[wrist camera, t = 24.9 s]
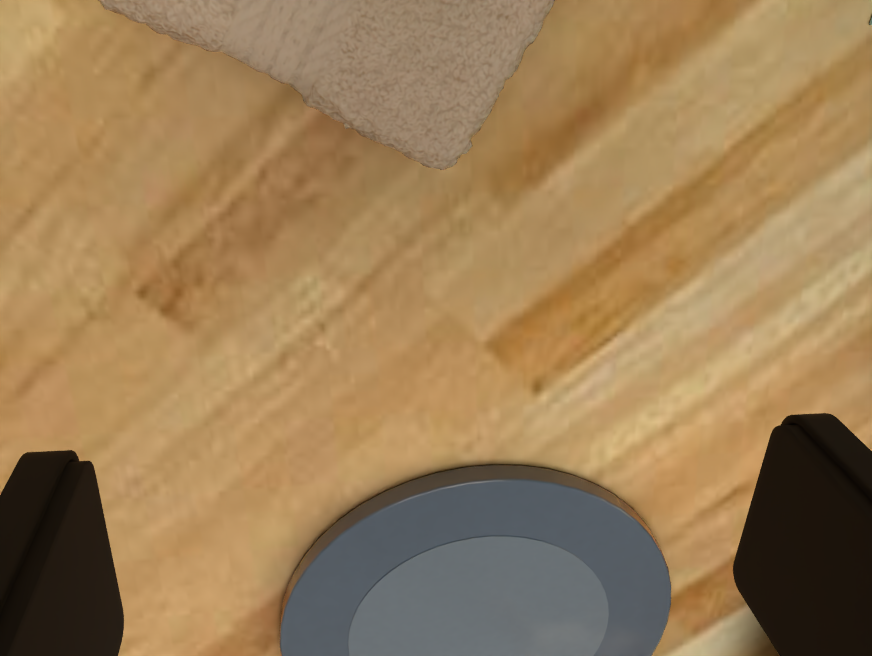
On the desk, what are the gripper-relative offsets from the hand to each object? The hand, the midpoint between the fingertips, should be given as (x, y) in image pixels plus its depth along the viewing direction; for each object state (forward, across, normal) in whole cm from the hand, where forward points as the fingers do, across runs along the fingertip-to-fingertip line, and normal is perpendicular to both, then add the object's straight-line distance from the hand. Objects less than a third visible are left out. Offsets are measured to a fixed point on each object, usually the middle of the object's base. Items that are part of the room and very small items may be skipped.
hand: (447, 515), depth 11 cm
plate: (+17, -5, +22) cm, 28 cm away
